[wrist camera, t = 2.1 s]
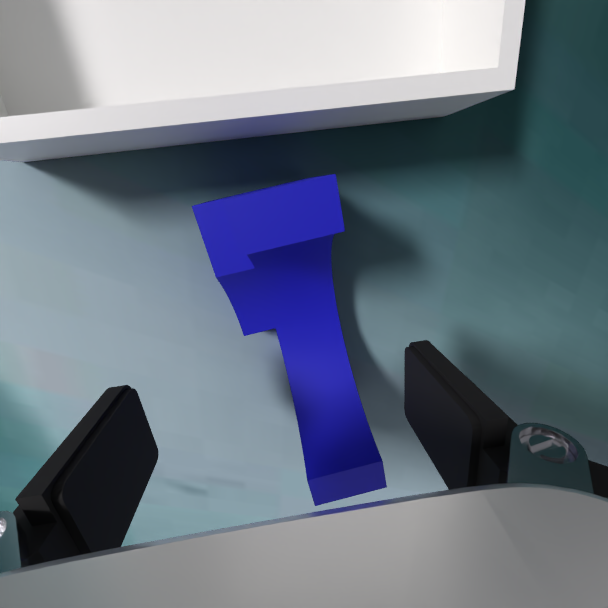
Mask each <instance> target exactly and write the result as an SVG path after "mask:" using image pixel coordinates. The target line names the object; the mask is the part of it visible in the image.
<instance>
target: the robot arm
mask: <svg viewBox="0 0 608 608" xmlns="http://www.w3.org/2000/svg"><path fill="white" fill-rule="evenodd" d="M404 409H405V415H406V418H407V420H408V422H409V423H410V425H411V427H412V428H413V430H414V432H415V433H416V435H417V437H418V438H419V440H420V442H421V443H422V445H423V447H424V448H425V450H426V452H427V453H428V455H429V457H430V459H431V460H432V462H433V464H434V465H435V467H436V469H437V470H438V472H439V474H440V475H441V477H442V479H443V480H444V482H445V484H446V485H447V487H448V489H449V490H445V491H438V492H432V493H425V494H418V495H412V496H406V497H400V498H394V499H388V500H382V501H377V502H371V503H365V504H359V505H353V506H347V507H342V508H336V509H330V510H324V511H318V512H313V513H307V514H301V515H296V516H290V517H284V518H279V519H273V520H267V521H262V522H256V523H250V524H245V525H239V526H234V527H228V528H222V529H217V530H211V531H206V532H200V533H195V534H189V535H184V536H178V537H173V538H167V539H162V540H157V541H151V542H146V543H140V544H135V545H129V546H124V547H121V545H122V542H123V540H124V538H125V535H126V533H127V531H128V528H129V526H130V524H131V521H132V519H133V517H134V514H135V512H136V510H137V507H138V505H139V503H140V500H141V498H142V495H143V493H144V491H145V488H146V486H147V484H148V481H149V479H150V477H151V474H152V472H153V470H154V467H155V465H156V463H157V460H158V448H157V445H156V443H155V440H154V437H153V434H152V432H151V429H150V426H149V423H148V421H147V418H146V415H145V412H144V410H143V407H142V404H141V401H140V399H139V396H138V393H137V391H136V390H135V389H131V387H130V386H128V385H124V386H117V387H111V388H108V389H107V390H106V391H105V392H104V393H103V395H102V396H101V397H100V398H99V399H98V401H97V402H96V403H95V404H94V405H93V406H92V408H91V409H90V410H89V411H88V412H87V414H86V415H85V416H84V417H83V418H82V420H81V421H80V422H79V423H78V424H77V426H76V427H75V428H74V429H73V430H72V432H71V433H70V434H69V435H68V436H67V438H66V439H65V440H64V441H63V442H62V444H61V445H60V446H59V447H58V448H57V450H56V451H55V452H54V453H53V454H52V456H51V457H50V458H49V459H48V460H47V462H46V463H45V464H44V465H43V466H42V468H41V469H40V470H39V471H38V472H37V474H36V475H35V476H34V477H33V478H32V480H31V481H30V482H29V483H28V484H27V486H26V487H25V488H24V489H23V490H22V492H21V493H20V494H19V495H18V496H17V498H16V501H17V503H18V504H19V506H18V507H17V508H16V509H15V511H14V512H13V513H12V512H9V511H0V608H608V467H607V466H604V465H601V464H598V463H595V462H592V461H589V460H588V459H587V455H586V452H585V450H584V448H583V447H582V446H581V445H580V444H579V442H578V441H577V440H575V439H574V438H572V437H571V436H570V435H568V434H567V433H565V432H563V431H561V430H559V429H557V428H554V427H551V426H548V425H544V424H538V423H524V424H520V425H517V424H516V423H515V422H514V421H513V420H512V419H511V418H509V417H508V416H507V415H506V414H505V413H504V412H503V411H502V410H501V409H500V408H499V407H498V406H497V405H496V404H495V403H494V402H493V401H492V400H491V399H489V398H488V397H487V396H486V395H485V394H484V393H483V392H482V391H481V390H480V389H479V388H478V387H477V386H476V385H475V384H474V383H473V382H472V381H470V380H469V379H468V378H467V377H466V376H465V375H464V374H463V373H462V372H461V371H460V370H458V369H457V368H456V367H455V366H454V365H453V364H452V363H451V362H450V361H449V360H448V359H447V358H446V357H445V356H444V355H443V354H442V353H441V352H440V351H438V350H437V349H436V348H435V347H434V346H433V345H432V344H431V343H430V342H429V341H427V340H424V341H418V342H411V343H410V345H409V347H406V348H405V402H404Z"/></svg>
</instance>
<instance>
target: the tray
mask: <svg viewBox="0 0 608 608" xmlns="http://www.w3.org/2000/svg"><path fill="white" fill-rule="evenodd" d="M524 8H525V0H0V160H1V161H12V162H30V161H39V160H48V159H57V158H66V157H76V156H85V155H94V154H103V153H112V152H122V151H131V150H140V149H149V148H158V147H168V146H177V145H186V144H195V143H204V142H214V141H223V140H232V139H241V138H250V137H260V136H269V135H278V134H287V133H296V132H306V131H315V130H324V129H333V128H342V127H352V126H361V125H370V124H379V123H388V122H398V121H407V120H416V119H425V118H434V117H444V116H447V115H449V114H452V113H455V112H457V111H460V110H462V109H465V108H468V107H470V106H473V105H475V104H478V103H480V102H483V101H486V100H488V99H491V98H493V97H496V96H499V95H501V94H504V93H506V92H509V91H512V90H514V89H515V81H516V73H517V65H518V57H519V48H520V40H521V32H522V24H523V16H524Z"/></svg>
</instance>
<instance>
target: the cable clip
mask: <svg viewBox="0 0 608 608" xmlns="http://www.w3.org/2000/svg"><path fill="white" fill-rule="evenodd" d="M192 209H193V211H194V214H195V217H196V220H197V223H198V226H199V229H200V232H201V235H202V238H203V241H204V244H205V246H206V249H207V252H208V255H209V258H210V261H211V264H212V267H213V270H214V273H215V276H216V278H217V279H218V281H219V282H220V284H221V285H222V287H223V288H224V290H225V292H226V294H227V296H228V297H229V299H230V302H231V304H232V306H233V308H234V310H235V313H236V315H237V318H238V320H239V323H240V325H241V328H242V331H243V334H244V336H246V335H250V334H254V333H258V332H262V331H266V330H270V329H274V328H276V331H277V335H278V339H279V342H280V346H281V350H282V354H283V358H284V362H285V366H286V370H287V375H288V379H289V383H290V388H291V392H292V397H293V402H294V406H295V411H296V416H297V421H298V427H299V432H300V437H301V443H302V449H303V455H304V461H305V467H306V474H307V481H308V484H309V487H310V491H311V494H312V497H313V501H314V504H315V506H317V505H321V504H324V503H328V502H332V501H336V500H340V499H343V498H347V497H351V496H355V495H359V494H363V493H366V492H370V491H374V490H378V489H382V488H385V487H387V486H386V480H385V474H384V467H383V461H382V459H381V456H380V454H379V451H378V449H377V446H376V444H375V441H374V438H373V436H372V433H371V430H370V427H369V424H368V422H367V419H366V416H365V413H364V410H363V407H362V404H361V401H360V397H359V394H358V391H357V388H356V384H355V381H354V377H353V374H352V370H351V367H350V363H349V359H348V355H347V351H346V347H345V343H344V339H343V335H342V330H341V326H340V321H339V316H338V311H337V305H336V299H335V293H334V286H333V277H332V266H331V248H332V240H333V237H334V234H335V233H339V232H344V231H345V229H344V222H343V216H342V210H341V204H340V198H339V192H338V186H337V180H336V174H331V175H325V176H318V177H312V178H306V179H302V180H297V181H293V182H289V183H285V184H280V185H276V186H272V187H268V188H263V189H259V190H255V191H251V192H246V193H242V194H238V195H234V196H229V197H225V198H221V199H217V200H212V201H208V202H205V203H201V204H198V205H194V206H192Z"/></svg>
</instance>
